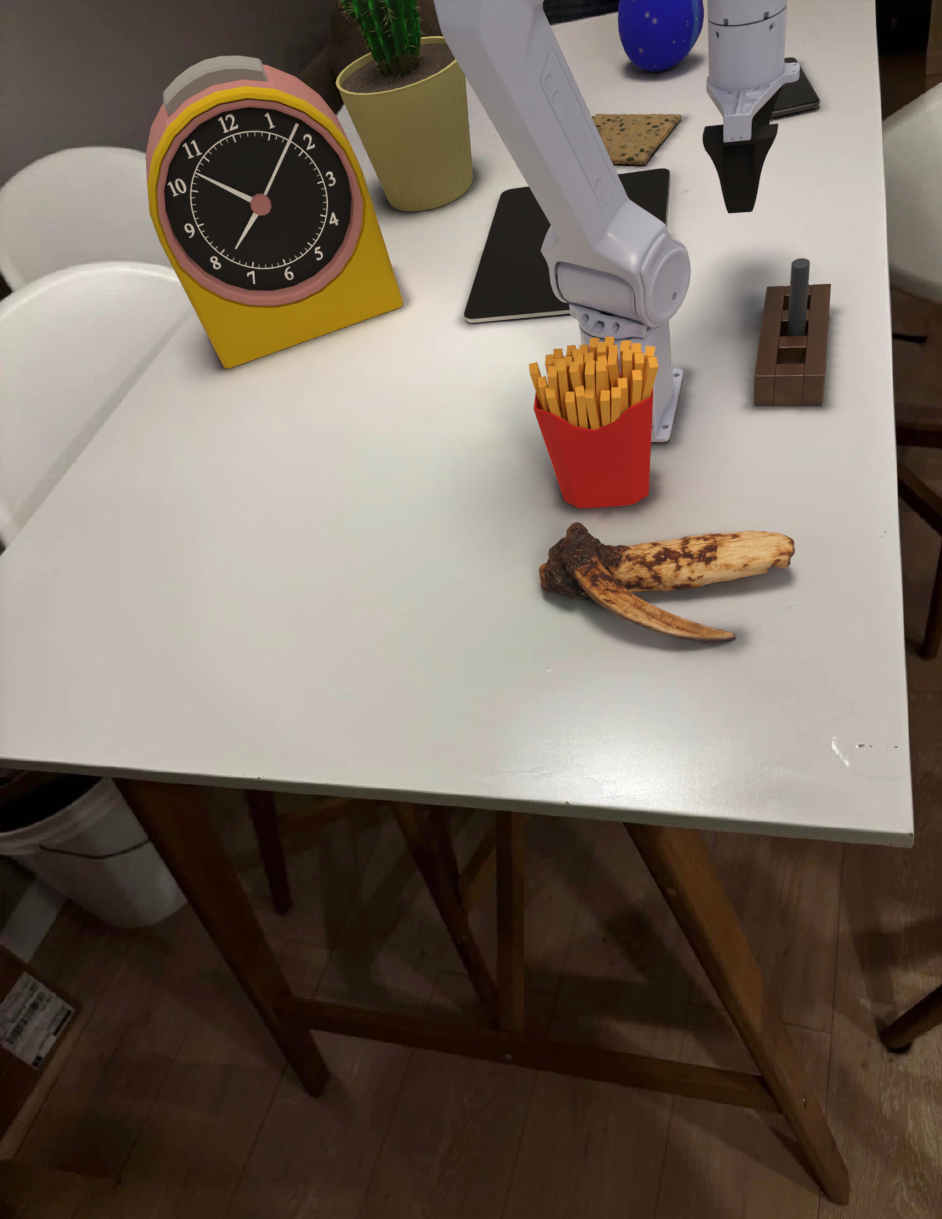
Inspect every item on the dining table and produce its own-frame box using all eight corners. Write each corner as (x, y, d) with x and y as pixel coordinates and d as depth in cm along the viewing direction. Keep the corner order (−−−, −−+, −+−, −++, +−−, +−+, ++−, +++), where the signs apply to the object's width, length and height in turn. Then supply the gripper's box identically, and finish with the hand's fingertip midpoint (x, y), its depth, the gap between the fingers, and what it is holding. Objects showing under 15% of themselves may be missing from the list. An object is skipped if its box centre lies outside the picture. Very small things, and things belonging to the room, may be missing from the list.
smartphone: (735, 75, 116) (756, 122, 106) (735, 68, 115) (757, 114, 105) (795, 61, 114) (822, 108, 105) (795, 54, 114) (822, 100, 104)
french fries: (551, 511, 72) (524, 379, 62) (555, 475, 75) (529, 343, 65) (667, 503, 70) (657, 365, 60) (667, 466, 72) (657, 328, 63)
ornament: (714, 55, 121) (712, -77, 110) (675, 85, 118) (669, -48, 107) (646, 51, 127) (638, -75, 116) (608, 79, 124) (595, -48, 113)
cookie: (683, 117, 111) (683, 109, 110) (645, 165, 105) (645, 157, 105) (596, 117, 117) (595, 109, 116) (555, 162, 111) (554, 155, 110)
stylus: (802, 362, 77) (809, 266, 70) (785, 362, 77) (790, 267, 71) (803, 352, 78) (810, 257, 71) (786, 352, 78) (791, 258, 71)
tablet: (502, 189, 108) (670, 166, 102) (503, 194, 109) (670, 172, 103) (461, 319, 92) (659, 300, 86) (463, 325, 92) (659, 307, 87)
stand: (828, 313, 80) (831, 283, 78) (822, 405, 73) (825, 375, 71) (765, 315, 82) (766, 286, 80) (753, 405, 75) (754, 376, 73)
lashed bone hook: (539, 660, 63) (807, 641, 59) (526, 621, 60) (810, 598, 55) (544, 559, 69) (788, 535, 65) (532, 518, 65) (790, 490, 61)
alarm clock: (223, 370, 97) (95, 119, 77) (217, 329, 103) (97, 87, 84) (404, 305, 97) (322, 39, 78) (388, 268, 103) (307, 13, 84)
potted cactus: (509, 159, 115) (456, -132, 92) (455, 222, 107) (382, -79, 85) (409, 159, 122) (337, -112, 99) (351, 218, 114) (259, -61, 92)
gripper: (797, 42, 62) (788, 228, 72) (808, -33, 70) (798, 143, 80) (693, 56, 64) (698, 234, 74) (715, -19, 72) (717, 151, 82)
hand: (744, 187), depth 77 cm, fingers open, 7 cm apart
